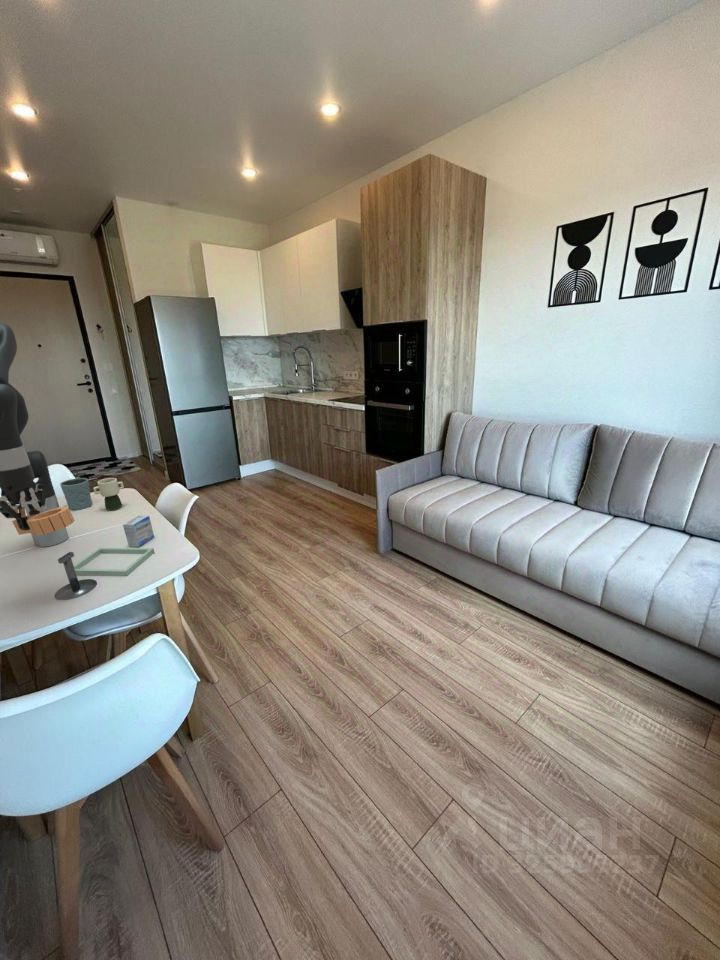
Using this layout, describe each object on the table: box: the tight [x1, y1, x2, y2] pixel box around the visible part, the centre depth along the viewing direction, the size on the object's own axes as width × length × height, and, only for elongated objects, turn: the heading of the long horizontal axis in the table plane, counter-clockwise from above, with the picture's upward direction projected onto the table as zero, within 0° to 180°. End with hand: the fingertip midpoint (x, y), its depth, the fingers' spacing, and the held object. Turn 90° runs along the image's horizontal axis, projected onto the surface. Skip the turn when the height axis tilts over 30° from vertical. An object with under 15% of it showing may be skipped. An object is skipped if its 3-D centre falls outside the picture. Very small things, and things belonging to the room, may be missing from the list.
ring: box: [11, 506, 75, 536], centre depth 103 cm, size 14×9×4 cm, turn 85°
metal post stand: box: [54, 551, 98, 601], centre depth 108 cm, size 10×10×12 cm
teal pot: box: [59, 477, 93, 512], centre depth 171 cm, size 10×10×12 cm
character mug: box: [93, 477, 125, 511], centre depth 167 cm, size 11×7×13 cm, turn 128°
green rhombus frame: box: [73, 547, 156, 577], centre depth 123 cm, size 19×14×2 cm
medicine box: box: [122, 514, 155, 548], centre depth 137 cm, size 8×4×9 cm, turn 168°
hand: (31, 526), depth 104 cm, fingers closed on ring, 3 cm apart
